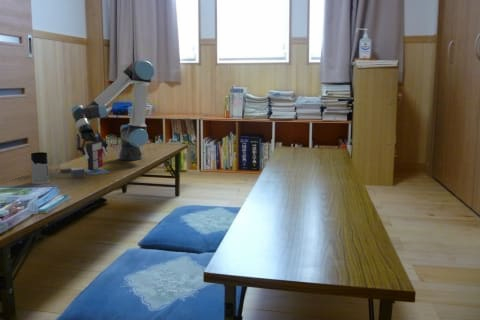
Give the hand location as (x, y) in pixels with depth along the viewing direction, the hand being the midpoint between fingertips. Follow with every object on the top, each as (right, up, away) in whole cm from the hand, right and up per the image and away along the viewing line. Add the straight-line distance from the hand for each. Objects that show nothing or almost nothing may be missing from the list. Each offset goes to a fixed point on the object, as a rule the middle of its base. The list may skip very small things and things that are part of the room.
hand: (97, 157), depth 250 cm
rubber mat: (-2, -8, +4) cm, 9 cm away
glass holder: (-19, -13, -22) cm, 32 cm away
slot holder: (-12, -9, -5) cm, 16 cm away
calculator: (-2, -6, +3) cm, 7 cm away
